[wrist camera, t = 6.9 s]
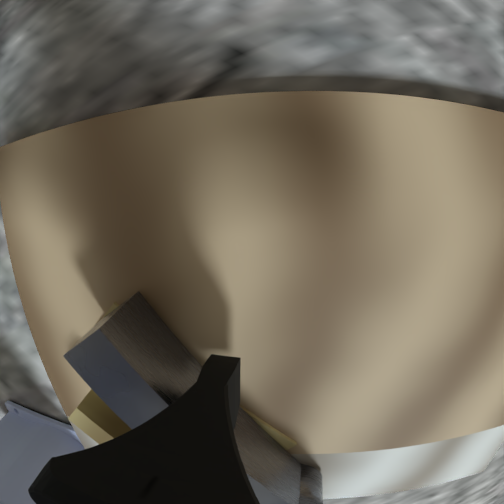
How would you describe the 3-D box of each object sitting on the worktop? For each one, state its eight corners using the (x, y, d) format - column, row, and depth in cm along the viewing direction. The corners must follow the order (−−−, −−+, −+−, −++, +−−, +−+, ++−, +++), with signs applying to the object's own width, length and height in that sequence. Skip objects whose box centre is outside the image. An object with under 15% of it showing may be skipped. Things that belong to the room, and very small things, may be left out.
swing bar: (332, 482, 13) (334, 541, 10) (281, 497, 14) (275, 551, 10) (146, 285, 11) (88, 340, 7) (96, 322, 12) (42, 375, 8)
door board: (100, 455, 17) (78, 490, 14) (10, 147, 11) (-46, 154, 8) (479, 461, 14) (494, 499, 10) (570, 136, 8) (622, 141, 4)
